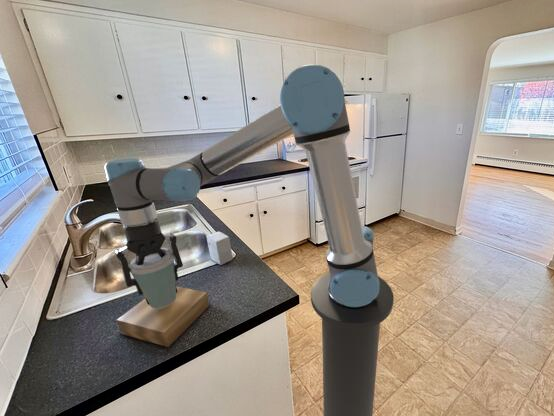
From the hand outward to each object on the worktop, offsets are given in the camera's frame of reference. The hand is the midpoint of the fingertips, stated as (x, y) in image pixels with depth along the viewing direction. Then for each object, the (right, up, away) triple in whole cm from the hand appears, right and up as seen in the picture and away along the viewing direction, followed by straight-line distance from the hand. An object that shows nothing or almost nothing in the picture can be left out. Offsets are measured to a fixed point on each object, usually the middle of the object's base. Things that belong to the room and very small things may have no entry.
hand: (162, 295), depth 75 cm
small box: (+4, +4, +33) cm, 34 cm away
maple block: (0, -8, +3) cm, 8 cm away
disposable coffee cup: (0, -2, +1) cm, 2 cm away
